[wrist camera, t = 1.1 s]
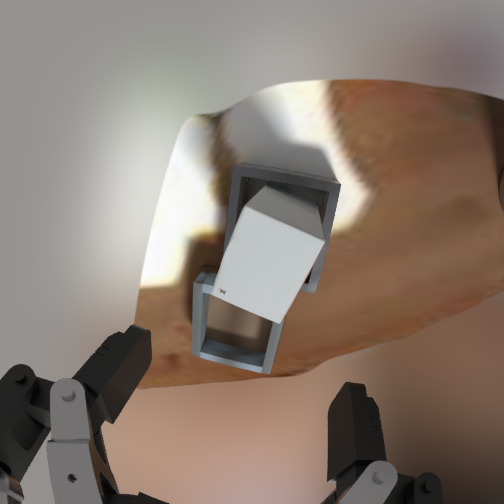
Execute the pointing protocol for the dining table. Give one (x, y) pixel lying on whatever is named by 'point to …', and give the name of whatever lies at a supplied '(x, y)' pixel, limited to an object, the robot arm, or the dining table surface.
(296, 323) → the dining table surface
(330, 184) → the socket
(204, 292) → the frame
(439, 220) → the dining table surface
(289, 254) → the small box
